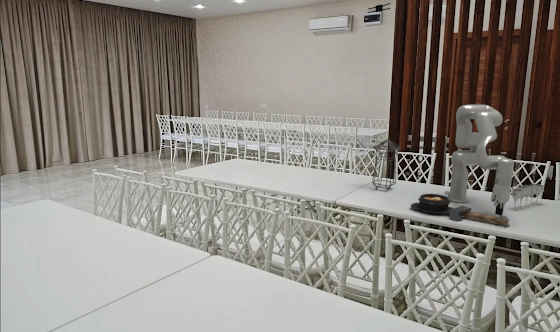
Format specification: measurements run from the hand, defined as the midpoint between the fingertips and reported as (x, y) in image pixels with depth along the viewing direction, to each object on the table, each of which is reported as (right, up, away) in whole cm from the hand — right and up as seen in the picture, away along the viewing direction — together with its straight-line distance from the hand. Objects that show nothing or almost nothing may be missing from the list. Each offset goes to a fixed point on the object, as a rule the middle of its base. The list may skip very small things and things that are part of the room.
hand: (498, 214), depth 214 cm
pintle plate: (-3, -4, -9) cm, 11 cm away
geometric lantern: (-46, +10, +61) cm, 77 cm away
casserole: (-30, 0, +13) cm, 33 cm away
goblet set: (+28, +2, +22) cm, 36 cm away
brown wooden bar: (-10, -2, -4) cm, 11 cm away
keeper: (-20, -2, +1) cm, 20 cm away
